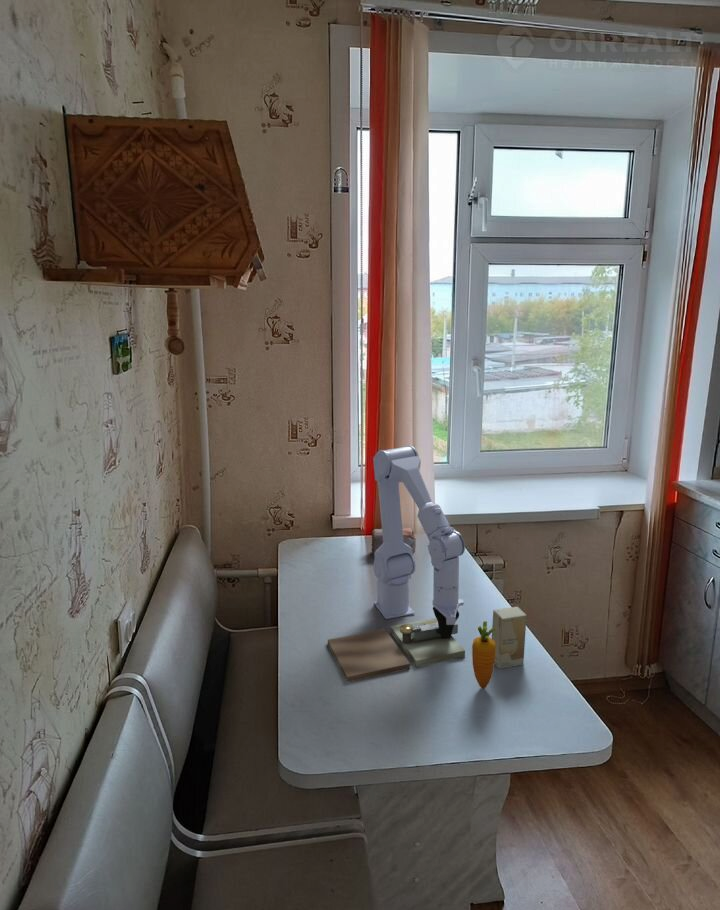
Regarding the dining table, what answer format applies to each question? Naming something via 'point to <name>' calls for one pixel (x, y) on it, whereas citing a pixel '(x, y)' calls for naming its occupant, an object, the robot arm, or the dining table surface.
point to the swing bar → (424, 631)
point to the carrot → (483, 656)
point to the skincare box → (509, 636)
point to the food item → (407, 539)
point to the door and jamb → (389, 651)
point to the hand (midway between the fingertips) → (445, 637)
